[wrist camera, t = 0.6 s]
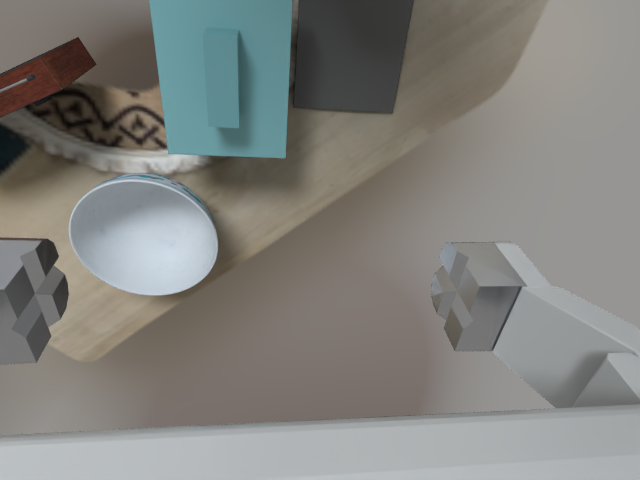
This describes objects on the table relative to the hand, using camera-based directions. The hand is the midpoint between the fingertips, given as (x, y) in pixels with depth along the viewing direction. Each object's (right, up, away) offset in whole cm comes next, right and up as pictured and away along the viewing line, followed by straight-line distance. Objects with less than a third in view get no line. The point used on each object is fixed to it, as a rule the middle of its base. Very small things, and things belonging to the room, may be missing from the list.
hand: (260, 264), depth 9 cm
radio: (-28, +16, +33) cm, 46 cm away
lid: (-7, +16, +29) cm, 34 cm away
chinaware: (-18, +5, +42) cm, 46 cm away
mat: (+4, +20, +34) cm, 40 cm away
